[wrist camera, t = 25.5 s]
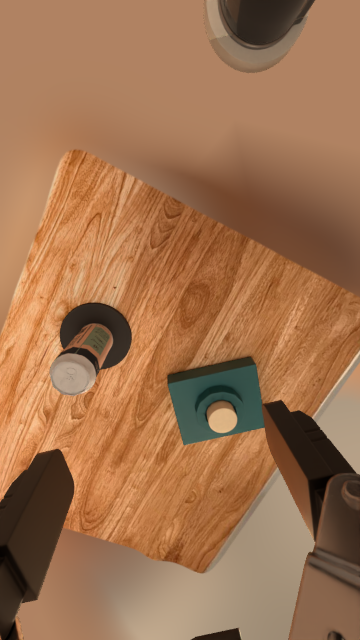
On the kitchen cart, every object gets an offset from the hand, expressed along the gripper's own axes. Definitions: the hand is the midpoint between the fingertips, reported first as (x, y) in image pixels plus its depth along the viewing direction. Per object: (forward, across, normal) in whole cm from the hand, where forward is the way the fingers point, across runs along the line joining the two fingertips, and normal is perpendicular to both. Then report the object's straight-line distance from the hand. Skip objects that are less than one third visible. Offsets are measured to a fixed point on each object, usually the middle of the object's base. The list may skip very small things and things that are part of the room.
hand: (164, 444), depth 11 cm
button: (+26, -4, +18) cm, 32 cm away
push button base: (+30, -4, +18) cm, 35 cm away
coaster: (+30, +11, +4) cm, 32 cm away
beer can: (+30, +11, +4) cm, 32 cm away
